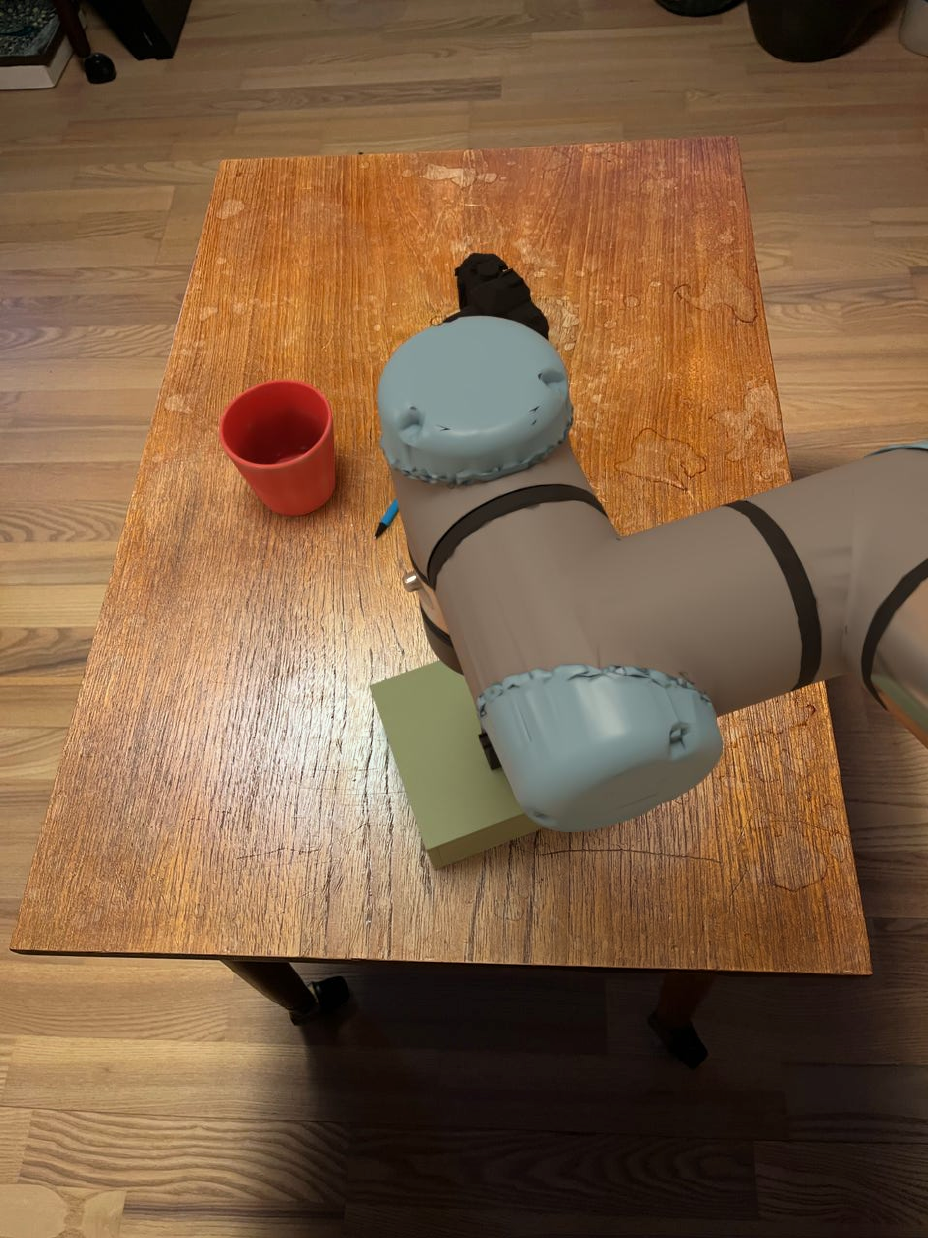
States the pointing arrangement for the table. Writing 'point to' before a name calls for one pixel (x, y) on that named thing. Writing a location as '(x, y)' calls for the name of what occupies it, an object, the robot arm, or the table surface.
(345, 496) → the table surface
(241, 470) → the flower pot
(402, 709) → the cover
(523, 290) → the film camera
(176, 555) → the table surface
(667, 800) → the robot arm
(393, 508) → the pen
